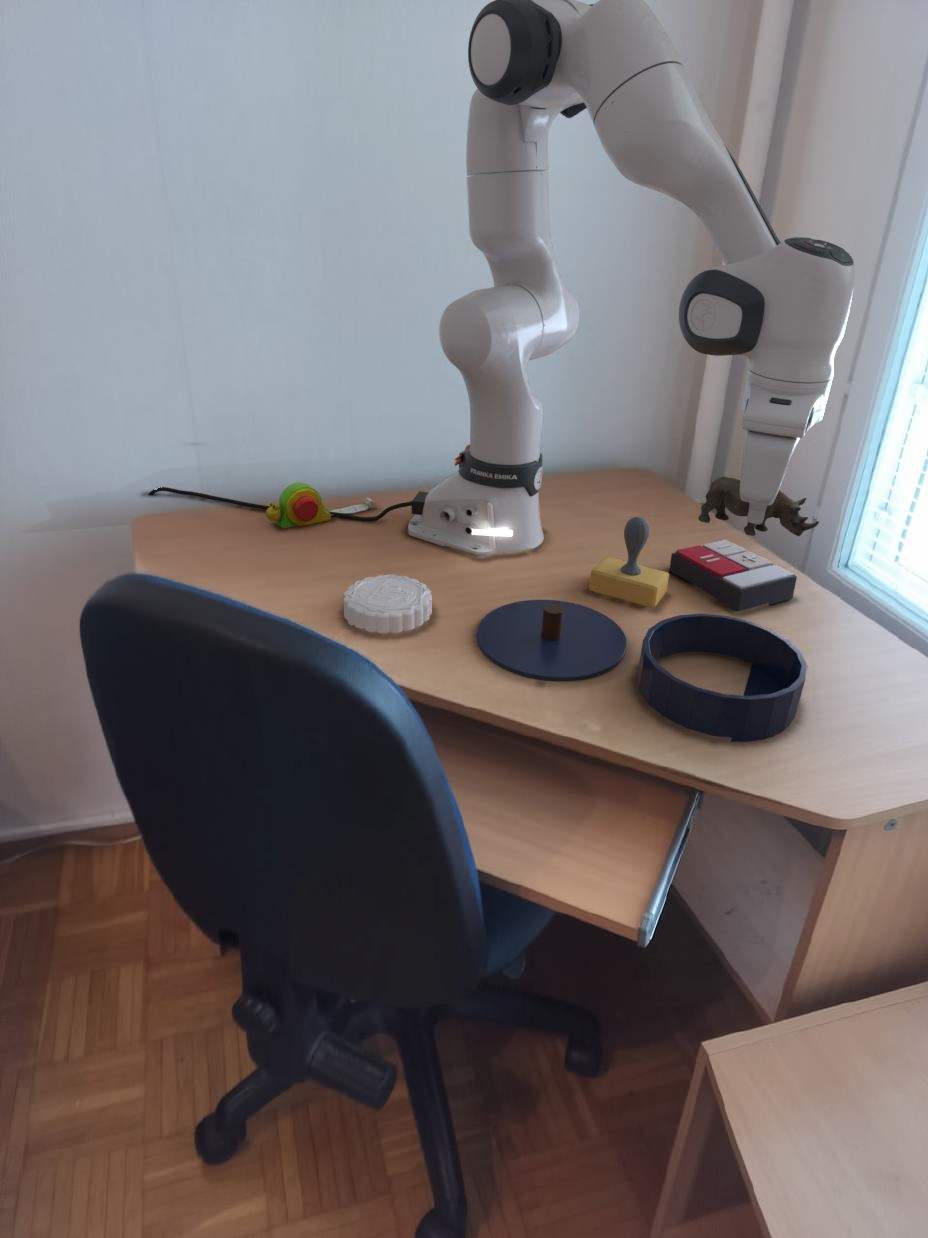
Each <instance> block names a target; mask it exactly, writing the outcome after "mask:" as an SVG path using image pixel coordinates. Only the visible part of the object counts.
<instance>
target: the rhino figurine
mask: <svg viewBox="0 0 928 1238" xmlns="http://www.w3.org/2000/svg"><path fill="white" fill-rule="evenodd" d="M705 500H706V502H705V503H703V504H701V506H700V510H701V511H700V515H698V521H700V522H701V523H706V524H709V523H710V522H711V516H710V514H709V513H710V512H712V511H713V510H716V513H715V515H714V518H715V519H717V520H721V521H724V522H725V521H728V520H729V519H730V517H729V516H728V514H727V513H726V509H727V511H729V512H730V513H731V514H733V515H735V516H737V517H748V512H749V503H750V502H745V501H742V500H741V499H740V479H737V478H733V477H728V476H720V477H718V478H716V479H714V480H713V481H712V482H711V484H710V487H709V489H708V492H707V493H706V494H705ZM806 501H807V497H804V498H801V499H799V500H797V501H796V500H795V501H794V499H792V498H791V497H789V496H788V495H787V494H786V493H785V492H783V491H781V490H780V489H779V491H778V494H777V496H776V499H775V501H774V502H773V504H772V505H769V506H768V505H767V508H766V512H765V516H764V520H763V522H762V524H753V523H749V522H748V521H747V524H746V526H744V527H743V531H744V533H745V535H746V536H752V537H755V536H757V535H756V534H757V533H756V531H759V532H764V533H765V532H768V531H769V528H768V527H767V525H766V521H767V519H771V518H774V519H779V523H780V525H781V526H782V527H783V528H784V529H785V530H787V531H788V532H789V533H791V534H792V535H795V536H797V537H800V536H802V535H803V533H804V532H805V531H809V530H811V529H814V528H816V527H817V526H818V525H819V524H820V521H819V520H817V521H815V522H813V523H807V522H806V521H807V520H808V519H809V516H802V515H800V513H799V512H800V511H801V510H802V508H801V506H802V505H804V504H805V503H806Z"/></svg>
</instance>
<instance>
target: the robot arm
mask: <svg viewBox="0 0 928 1238" xmlns="http://www.w3.org/2000/svg"><path fill="white" fill-rule="evenodd" d="M474 19H475V20H474V22H473V24H472V27H471V30H470V34H469V37H468V45H467V46H468V47H467V60H468V68H469V72H470V76H471V79H472V81H473V83H474V85H475V87H476V89H475V91H474V92H473V94H472V96H471V98H470V102H469V109H468V110H469V111H468V118H467V130H466V150H465V160H466V161H465V167H466V171H465V172H466V194H467V195H466V196H467V214H468V233H469V237H470V240H471V242H472V244H473V246H474V247H475V248H476V249H477V250H478V251H480V252H481V254H483V256H484V257H485V259H486V262H487V264H488V266H489V270H490V272H491V276H492V281H493V286H490V287H485V288H479V289H475V290H473V291H471V292H468V293H467V294H464V295H463V296H461V297H459V298H457V299H455V300H453V301H452V302H451V303H449V304H448V305H447V306H446V308H445V309H444V310H443V313H442V314H441V317H440V319H439V324H438V337H439V343H440V346H441V350H442V352H443V354H444V356H445V357H446V358H447V360H448V361H449V362H450V364H452V366H454V367H455V368H456V369H457V370H458V372H459V373H460V375H461V377H462V379H463V382H464V384H465V387H466V392H467V395H468V400H469V414H470V415H469V425H470V426H469V444H467V445H466V446H465V448H464V450H462V451H461V452H459V455H458V456H457V457H455V458H454V461H455V462H454V467H456V466H458V470H457V471H455V472H454V473H452V474H451V475H449V476H448V477H446V478H445V479H443V480H441V481H440V482H439V483H438V484H436V485H434V487H432V488H431V489H430V490H429V491H420V490H419V491H418V492H417V494H416V495H415V496H414V497H413V499H411V500H410V501H405V502H400V503H396V504H392V505H390V506H388V507H386V508H385V509H384V510H382V511H381V512H380V513H379V514H378V515H374V516H357V515H352V514H349V513H347V514H344V513H337V512H330V515H331V517H336V518H342V519H348V520H353V521H359V522H375V521H378V520H381V519H382V518H384V517H385V515H387V514H388V513H390V512H392V511H395V510H397V509H401V508H406V507H411V515H414V516H413V517H412V518H411V519H410V520H409V522H408V525H407V534H408V535H409V536H411V537H412V538H413V537H414V538H417V539H418V540H419V539H420V540H422V541H425V542H428V543H432V544H435V545H437V546H441V547H445V546H446V547H450V548H452V549H456V550H458V551H461V552H465V553H468V554H471V555H474V556H477V557H487V556H490V555H495V554H503V553H515V552H523V551H527V550H534V549H536V548H538V547H539V546H541V544H543V542H544V540H545V536H544V532H543V527H542V521H541V513H540V512H541V511H540V496H539V494H540V493H539V492H540V491H541V487H542V481H543V471H544V470H543V468H544V467H543V457H544V456H543V454H542V453H541V449H542V435H543V434H542V433H543V422H544V421H543V420H544V406H543V404H542V401H541V399H539V397H538V396H537V395H535V394H534V393H533V392H532V390H531V387H530V382H529V378H528V363H529V361H533V360H537V359H540V358H543V357H546V356H550V355H552V354H553V353H555V352H557V350H559V349H561V348H562V347H564V346H565V345H566V344H568V343H569V341H571V340H572V339H573V337H574V336H575V334H576V333H577V331H578V327H579V323H580V309H579V307H580V306H579V304H578V300H577V299H576V297H575V295H574V293H573V292H572V291H571V289H569V288H568V286H567V285H566V284H565V282H564V280H563V278H562V275H561V272H560V269H559V266H558V263H557V259H556V255H555V251H554V247H553V242H552V236H551V235H552V234H551V224H550V196H549V195H550V191H549V187H550V185H549V151H548V149H549V148H548V145H549V143H548V142H549V141H548V140H549V132H550V129H551V126H552V123H553V122H554V120H555V118H556V117H557V116H558V115H559V114H561V115H562V116H563V117H565V118H566V119H572V118H574V117H575V116H577V115H579V114H580V113H582V112H584V111H585V110H586V109H587V113H588V115H589V118H590V119H591V122H592V125H593V127H594V129H595V131H596V134H597V136H598V139H599V141H600V143H601V146H602V148H603V150H604V151H605V153H606V156H607V157H608V158H609V160H610V161H611V163H612V164H613V166H614V167H615V168H616V170H617V171H618V172H619V173H620V174H621V176H623V177H624V178H625V179H627V180H628V181H630V182H632V183H634V184H636V185H638V186H641V187H643V188H648V189H650V190H653V191H656V192H658V193H660V194H664V195H666V196H668V197H670V198H672V199H674V200H676V201H678V202H679V203H681V204H683V205H684V206H686V207H688V208H689V210H690V211H692V212H693V213H694V214H695V215H696V216H697V217H698V219H699V220H700V221H701V222H702V224H703V226H704V228H705V230H706V231H707V233H708V235H709V237H710V239H711V241H712V242H713V245H714V246H715V248H716V250H717V252H718V254H719V255H720V257H721V259H722V261H723V265H719V266H715V267H712V268H708V269H707V270H704V271H701V272H700V273H698V274H696V275H695V276H694V277H693V278H692V279H691V280H690V282H688V283H687V285H686V287H685V289H684V290H683V292H682V294H681V299H680V302H679V306H678V323H679V329H680V332H681V334H682V336H683V338H684V339H685V342H686V343H687V344H688V345H689V347H691V348H692V349H693V350H694V351H695V352H697V353H700V354H702V355H707V356H714V357H725V356H739V355H741V356H745V357H746V358H748V360H749V368H748V371H747V377H746V381H745V385H744V391H743V396H742V400H741V405H740V410H741V412H742V414H743V417H742V422H741V423H742V424H741V428H742V430H746V432H745V438H744V445H743V452H742V461H741V470H740V479H739V480H740V499H741V500H742V501H745V502H750V503H749V512H748V516H746V517H747V518H746V521H747V523H748V522H749V523H753V524H762V522H763V520H764V516H765V512H766V508H767V505H768V506H769V505H772V504H773V502H774V501H775V499H776V496H777V494H778V491H779V490H780V489H781V486H782V483H783V480H784V478H785V475H786V473H787V470H788V467H789V465H790V461H791V459H792V456H793V454H794V452H795V450H796V447H797V445H798V443H799V442H800V440H801V439H803V438H804V437H805V435H806V434H807V433H808V431H809V429H811V428H812V427H813V426H814V425H815V424H817V423H820V422H821V421H822V420H823V417H824V414H825V410H826V406H827V402H828V399H829V395H830V391H831V387H832V382H833V379H834V373H835V369H834V367H835V366H834V360H835V355H836V352H837V349H838V347H839V346H840V344H841V342H842V340H843V338H844V335H845V332H846V328H847V323H848V320H849V315H850V310H851V305H852V299H853V293H854V286H855V276H856V275H855V274H856V273H855V272H856V271H855V262H854V259H853V257H852V256H851V255H850V253H849V252H847V251H846V250H845V248H843V247H841V246H839V245H837V244H834V243H832V242H829V241H825V240H821V239H816V238H811V237H803V236H802V237H801V236H794V237H789V238H786V239H784V240H782V241H780V239H779V238H778V235H777V234H776V232H775V230H774V229H773V227H772V224H771V223H770V221H769V219H768V218H767V215H766V214H765V212H764V209H763V208H762V206H761V203H759V201H758V198H757V197H756V195H755V193H754V191H753V189H752V188H751V186H750V184H749V182H748V180H747V178H746V177H745V175H744V174H743V171H742V169H741V168H740V166H739V164H738V163H737V161H736V159H735V158H734V157H733V155H732V154H731V152H730V151H729V149H728V147H727V145H726V144H725V142H724V141H723V139H722V138H721V136H720V135H719V133H718V132H717V130H716V128H715V127H714V125H713V123H712V122H711V120H710V118H709V116H708V114H707V112H706V110H705V109H704V106H703V104H702V102H701V100H700V99H699V97H698V94H697V92H696V90H695V87H694V86H693V84H692V82H691V79H690V77H689V75H688V73H687V70H686V68H685V66H684V64H683V61H682V59H681V57H680V55H679V53H678V51H677V49H676V47H675V45H674V43H673V41H672V39H671V38H670V36H669V34H668V33H667V31H666V30H665V28H664V26H663V24H662V23H661V21H660V20H659V18H658V17H657V15H656V14H655V12H654V11H653V10H652V8H650V6H649V4H648V3H647V2H646V0H597V1H596V2H595V3H591V4H590V3H589V4H587V3H584V2H583V1H579V0H493V1H491V2H489V3H487V4H486V5H484V7H482V8H481V10H480V11H479V13H478V14H477V15H476V18H474ZM159 487H160V488H158V487H157V488H158V489H157V490H154V489H155V488H153V489H151V490H150V491H149V493H148V494H147V495H148V496H153V495H156V493H158V492H159V493H160V492H167V493H173V494H176V495H184V496H191V497H197V498H202V499H207V500H212V501H215V502H216V501H217V502H220V503H226V504H231V505H236V506H240V507H241V506H242V507H247V508H252V509H258V510H264V511H267V509H268V508H269V507H271V506H270V505H264V504H259V503H252V502H247V501H241V500H236V499H231V498H226V497H222V496H216V495H211V494H206V493H201V492H196V491H191V490H182V489H176V488H172V487H168V486H159ZM161 487H162V488H161ZM278 508H279V506H278ZM332 514H333V515H332Z"/></svg>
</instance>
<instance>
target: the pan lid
mask: <svg viewBox="0 0 928 1238" xmlns="http://www.w3.org/2000/svg"><path fill="white" fill-rule="evenodd" d="M476 641H477V645H478V647H479V649H480V651H481V652H482V653H483V655H484V656H485V657H486V658H487V659H488V660H490V661H491V662H492V663H494V664H495V665H497V666H498V667H500V668H502V669H504V670H506V671H509V672H511V673H514V674H516V675H519V676H523V677H526V678H531V679H535V680H541V681H551V682H572V681H573V682H574V681H580V680H588V679H591V678H596V677H598V676H601V675H603V674H606V673H607V672H609V671H611V670H613V669H614V668H615V667H617V665H619V664H620V663H621V662H622V660H623V659H624V657H625V655H626V653H627V647H628V646H627V645H628V644H627V638H626V635H625V633H624V631H623V630H622V628H621V627H620V625H618V624H617V622H615V621H614V620H613V619H612V618H610V617H609V616H608V615H606V614H604V613H602V612H600V611H598V610H596V609H594V608H591V607H588V606H586V605H582V604H579V603H574V602H570V601H564V600H557V599H528V600H520V601H515V602H511V603H507V604H504V605H501V606H499V607H497V608H495V609H494V610H492V611H490V612H488V613H487V614H486V615H485V616H484V617H483V618H482V619H481V620H480V622H479V624H478V626H477V629H476Z"/></svg>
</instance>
